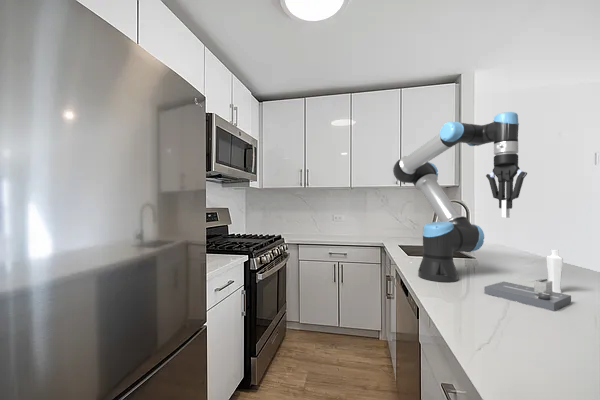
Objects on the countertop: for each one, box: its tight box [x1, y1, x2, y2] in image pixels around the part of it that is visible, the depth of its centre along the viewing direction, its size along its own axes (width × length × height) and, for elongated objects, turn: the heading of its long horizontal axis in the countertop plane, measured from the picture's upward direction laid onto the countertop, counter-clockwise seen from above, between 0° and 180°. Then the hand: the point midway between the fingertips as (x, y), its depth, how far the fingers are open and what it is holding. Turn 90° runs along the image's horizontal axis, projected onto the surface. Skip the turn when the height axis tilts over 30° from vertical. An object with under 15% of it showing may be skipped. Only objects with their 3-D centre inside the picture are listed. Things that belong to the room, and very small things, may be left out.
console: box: [483, 281, 572, 312], centre depth 96 cm, size 19×14×4 cm
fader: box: [533, 278, 552, 294], centre depth 92 cm, size 3×5×4 cm, turn 122°
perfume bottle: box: [546, 249, 564, 294], centre depth 104 cm, size 5×4×15 cm
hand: (505, 217), depth 108 cm, fingers closed
